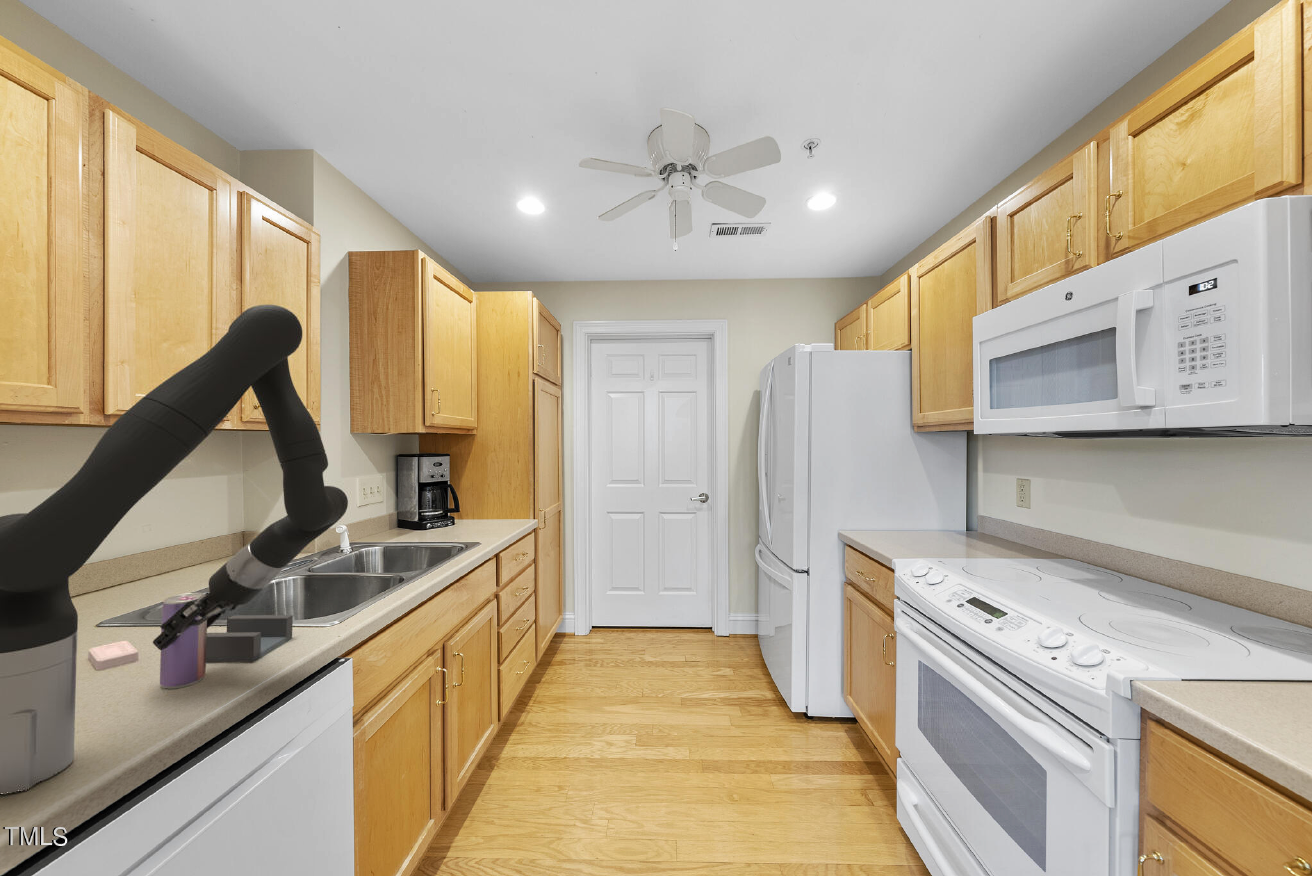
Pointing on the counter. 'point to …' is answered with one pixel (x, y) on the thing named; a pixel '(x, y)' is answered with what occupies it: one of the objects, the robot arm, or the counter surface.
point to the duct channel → (248, 638)
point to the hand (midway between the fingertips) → (179, 636)
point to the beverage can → (183, 648)
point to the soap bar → (112, 655)
